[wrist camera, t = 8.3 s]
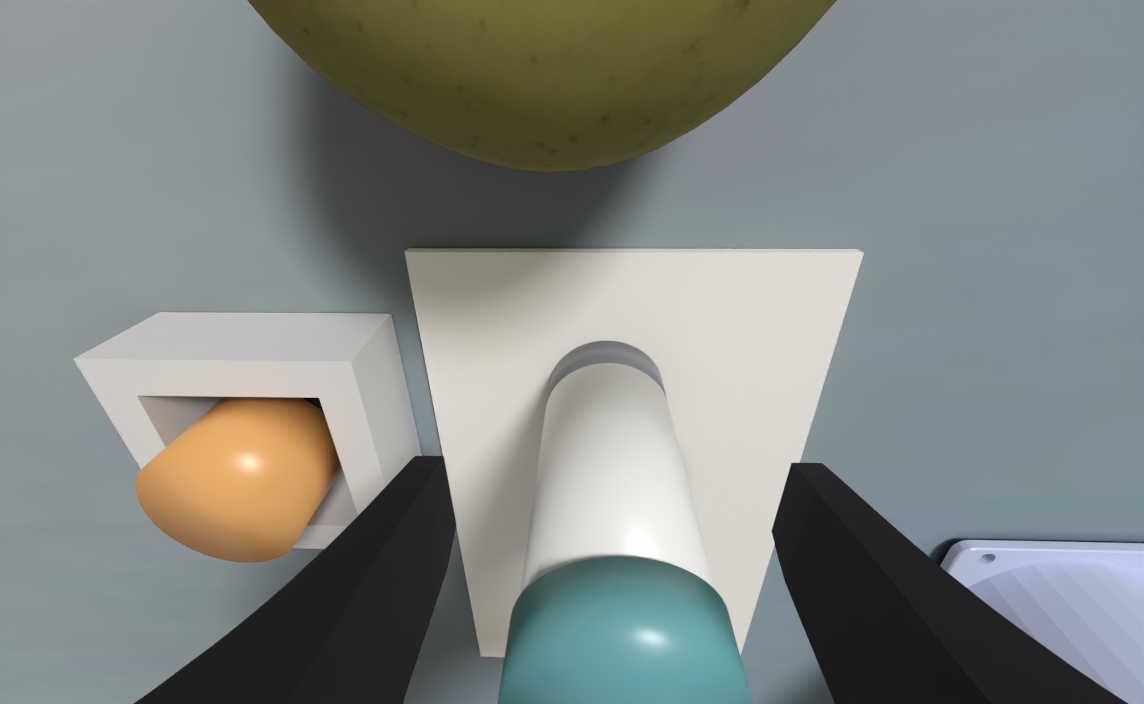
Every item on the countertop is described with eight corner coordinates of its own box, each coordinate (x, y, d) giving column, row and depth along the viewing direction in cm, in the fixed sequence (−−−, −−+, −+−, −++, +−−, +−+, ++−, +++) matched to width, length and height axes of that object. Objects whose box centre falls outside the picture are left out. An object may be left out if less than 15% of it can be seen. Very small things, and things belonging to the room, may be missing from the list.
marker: (671, 337, 13) (777, 647, 6) (660, 439, 14) (731, 779, 7) (543, 336, 13) (485, 639, 6) (547, 437, 14) (506, 771, 7)
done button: (326, 387, 12) (270, 454, 10) (359, 489, 14) (317, 564, 12) (190, 386, 12) (105, 451, 10) (239, 487, 14) (176, 561, 12)
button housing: (391, 313, 13) (350, 361, 11) (428, 486, 16) (403, 550, 14) (159, 312, 13) (73, 359, 11) (242, 483, 16) (188, 546, 14)
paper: (857, 249, 12) (864, 253, 11) (735, 656, 20) (737, 665, 20) (408, 248, 12) (403, 252, 12) (482, 649, 21) (480, 657, 20)
